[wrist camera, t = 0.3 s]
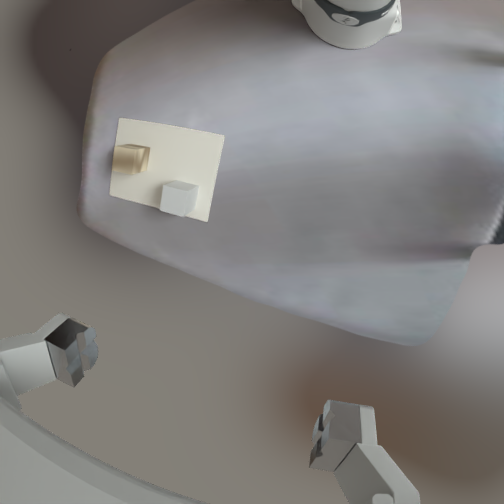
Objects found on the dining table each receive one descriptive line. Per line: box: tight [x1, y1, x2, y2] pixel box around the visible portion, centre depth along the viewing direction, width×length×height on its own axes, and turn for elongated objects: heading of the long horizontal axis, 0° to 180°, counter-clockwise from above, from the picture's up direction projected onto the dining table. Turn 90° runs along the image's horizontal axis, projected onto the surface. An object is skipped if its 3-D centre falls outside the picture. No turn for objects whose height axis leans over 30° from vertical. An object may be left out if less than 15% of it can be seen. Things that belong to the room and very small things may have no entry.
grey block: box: [160, 180, 199, 217], centre depth 55 cm, size 4×4×6 cm
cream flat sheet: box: [110, 118, 225, 222], centre depth 57 cm, size 16×22×1 cm
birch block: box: [112, 144, 150, 175], centre depth 54 cm, size 4×4×6 cm
